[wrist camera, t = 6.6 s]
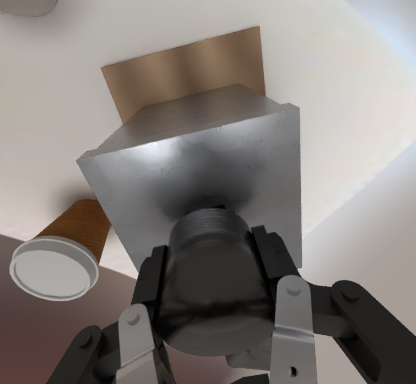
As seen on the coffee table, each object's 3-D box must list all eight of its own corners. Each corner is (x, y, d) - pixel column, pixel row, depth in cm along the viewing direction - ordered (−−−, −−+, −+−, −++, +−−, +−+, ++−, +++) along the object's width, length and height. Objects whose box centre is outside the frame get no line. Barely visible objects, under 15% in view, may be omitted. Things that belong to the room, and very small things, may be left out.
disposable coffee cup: (112, 187, 34) (78, 243, 24) (128, 236, 39) (104, 299, 29) (49, 193, 34) (-14, 251, 24) (72, 240, 39) (28, 306, 29)
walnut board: (163, 216, 37) (162, 220, 37) (103, 67, 26) (100, 67, 26) (272, 193, 36) (274, 196, 35) (257, 26, 25) (259, 25, 24)
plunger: (177, 192, 29) (155, 384, 12) (155, 127, 25) (71, 279, 8) (243, 178, 28) (317, 357, 11) (231, 109, 24) (324, 228, 7)
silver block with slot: (176, 207, 35) (162, 316, 20) (139, 105, 28) (76, 160, 13) (254, 189, 35) (302, 290, 20) (240, 80, 27) (299, 107, 12)
